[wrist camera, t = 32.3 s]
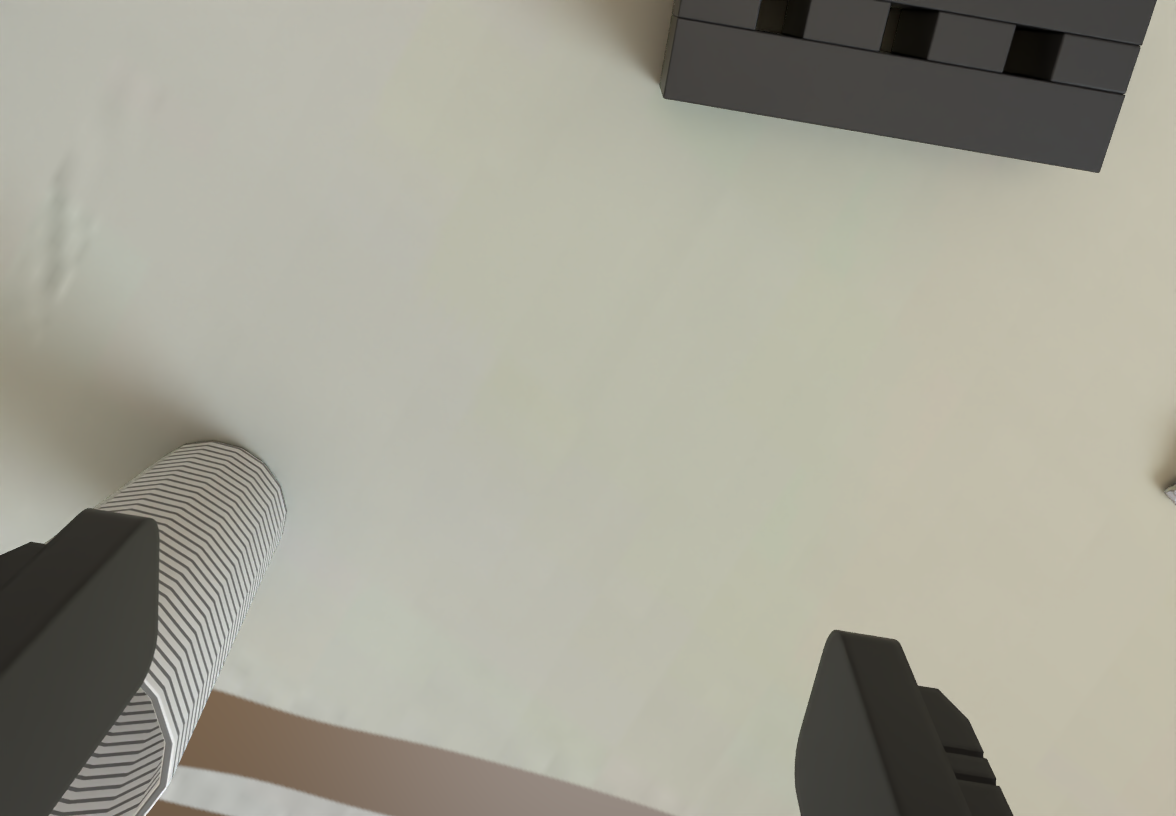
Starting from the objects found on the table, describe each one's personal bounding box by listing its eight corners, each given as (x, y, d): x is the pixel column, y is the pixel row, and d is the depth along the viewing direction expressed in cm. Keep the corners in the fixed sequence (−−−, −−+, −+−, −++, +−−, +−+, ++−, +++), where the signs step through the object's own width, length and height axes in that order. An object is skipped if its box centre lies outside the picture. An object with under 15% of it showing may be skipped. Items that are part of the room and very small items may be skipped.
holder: (1044, 152, 40) (1100, 173, 35) (659, 86, 39) (662, 98, 35) (1103, -35, 37) (1170, -40, 33) (693, -108, 37) (702, -123, 32)
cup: (227, 622, 48) (54, 890, 34) (81, 492, 46) (-171, 718, 32) (358, 512, 46) (233, 749, 32) (210, 371, 44) (3, 554, 29)
